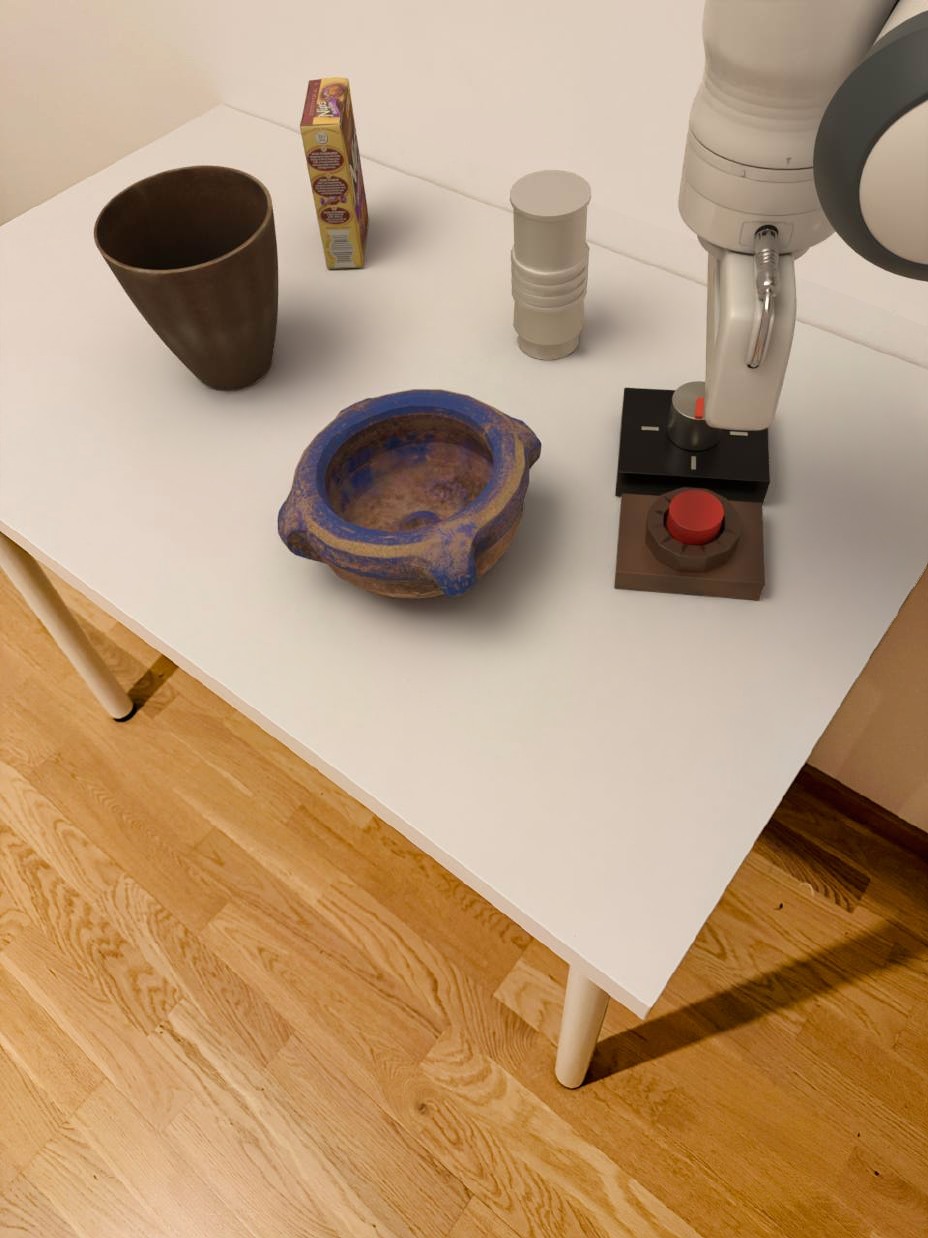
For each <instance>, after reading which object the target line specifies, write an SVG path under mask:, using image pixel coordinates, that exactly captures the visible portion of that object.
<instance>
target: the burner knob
mask: <svg viewBox="0 0 928 1238" xmlns="http://www.w3.org/2000/svg"><path fill="white" fill-rule="evenodd" d="M675 390H676V391H675V392H674V394H673V397H672V403H671V409H670V415H669V421H668V427H667V433H668V436H669V438H670V440H671V441H672V442H673V443H674V444H675V445H677V446H679V447H681V448H683V449H686V450H691V451H700V450H706V449H709V448H711V447H713V446H714V445H715V444H716V443H717V442H718V441H719V440H720V437H721V434H722V429H720V428H713V427H710V426H709V425H708V424H707V423H706V420H705V381H698V380H697V381H695V380H694V381H690V382H686V383H683V384H681V385H680V386H678V387H677V388H676V389H675Z"/></svg>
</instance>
